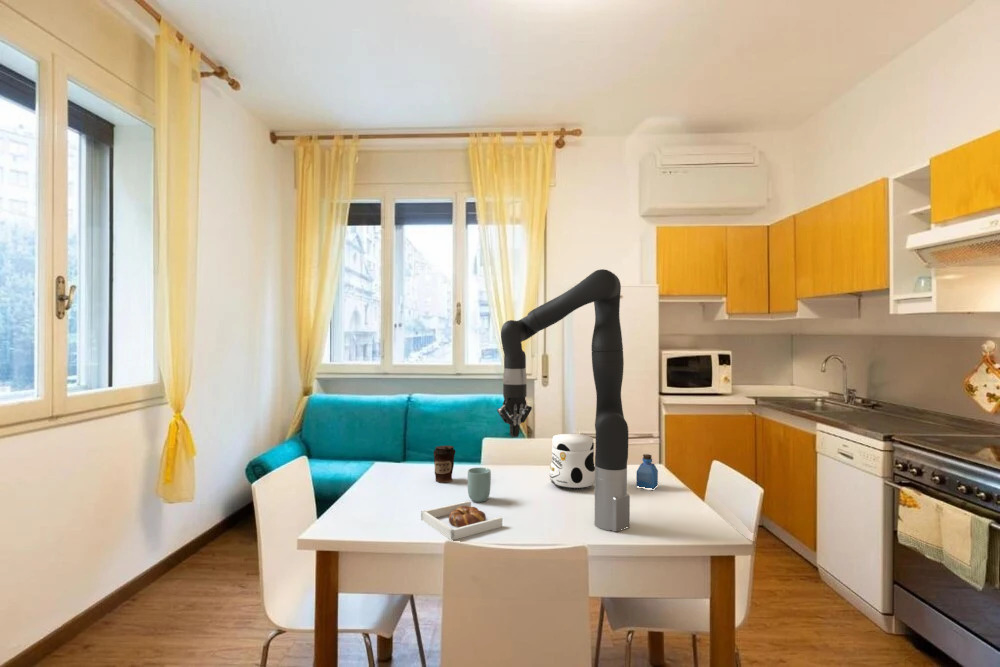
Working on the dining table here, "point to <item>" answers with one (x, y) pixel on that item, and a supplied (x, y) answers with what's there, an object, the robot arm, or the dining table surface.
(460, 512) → the pretzel
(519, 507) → the dining table surface
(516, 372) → the robot arm
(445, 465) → the coffee cup
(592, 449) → the milk container
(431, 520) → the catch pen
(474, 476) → the cup
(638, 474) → the perfume bottle
